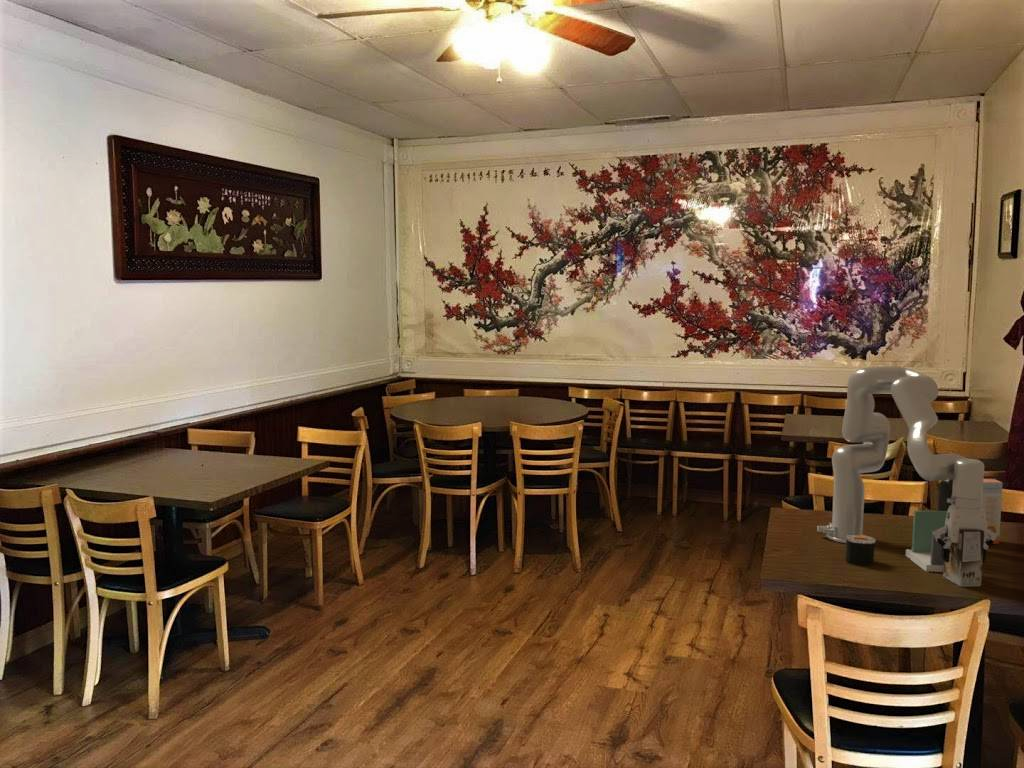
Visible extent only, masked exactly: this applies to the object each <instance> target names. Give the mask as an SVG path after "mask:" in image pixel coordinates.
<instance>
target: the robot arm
mask: <svg viewBox="0 0 1024 768" xmlns="http://www.w3.org/2000/svg"><path fill="white" fill-rule="evenodd" d="M846 388H847V391H846V392H847V396H846V403H845V409H844V414H843V421H842V424H841V425H842V428H841V434H842V435H841V436H842V437H843V439H844V440H845V441H847V442H849V443H860V444H847V445H845V444H844V445H842V446H840V447H838V448H836V449H835V450H834V451H833V453H832V455H831V464H832V465H831V466H832V471H833V498H832V499H833V500H832V501H833V503H832V519H831V521H832V522H829V523H828V524H827V525H817V526H816V531H817V532H822V533H824V534H826V537H827V538H828V539H829V540H831V541H834V542H837V543H843V544H846V536H847V535H850V536H851V535H852V536H853V535H859V536H861V535H863V536H864V535H865V536H867V535H866V534H864V533H863V529H864V527H863V526H864V512H865V511H864V509H865V492H866V491H865V483H864V481H863V479H862V477H861V474H865V473H874V472H875V473H876V472H878V471H880V469H882V468H883V466H884V464H885V462H886V458H887V452H888V447H889V441H890V436H891V425H890V421H889V419H888V418H887V417H886V415H884V414H882V413H881V412H874V411H875V405H876V404H875V398H874V396H873V394H874V395H875V394H878V395H879V394H891V397H892V398H893V400H894V402H895V405H896V407H897V408H898V410H899V413H900V414H901V415H902V418H903V420H904V422H905V424H906V425H907V428H908V433H907V439H906V440H907V441H906V449H907V453H908V457H909V459H910V461H911V464H912V465H913V468H914V469H915V471H916V472H917V474H918V475H919V477H921V478H922V479H923V480H925V481H927V482H937V481H940V482H941V481H942V480H952V479H953V490H952V495H951V498H948V499H947V502H948V503H951V504H952V505H950V506H949V508H948V512H947V515H946V520H945V526H944V527H942V528H940V529H937V530H935V531H933V535H934V537H935V540H936V541H937V542H938V543H939V544H940V546H941V558H942V560H944V561H945V562H949V558H950V549H949V548H948V547H949V546H950V545H951V544H952V543H959V530H983V531H984V545H983V561H982V564H985V560H986V559H987V550H989V547H990V546H991V545H994V544H993V541H994V540H995V538H996V537H997V534H996V533H994V532H992V531H990V530H988V529H987V521H986V513H985V509H984V508H982V495H983V480H984V479H985V477H984V476H985V464H984V462H982V461H981V460H979V459H975V458H969V457H965V456H963V455H961V454H959V453H958V454H957V453H949V452H948V453H937V454H933V453H932V450H931V449H930V447H929V445H928V441H927V434H928V431H929V430H930V429H932V428H933V427H935V425H937V423H938V421H939V418H938V416H937V414H936V412H935V409H934V408H933V406H932V404H931V403H932V402H934V401H935V400H936V399H937V398H938V395H939V386H938V384H937V383H936V381H935V380H934V378H932V377H930V376H929V375H926V374H923V373H921V372H917V371H915V370H913V369H909V368H906V367H902V366H898V365H897V366H895V365H893V366H891V365H890V366H870V367H862V368H860V369H856V370H854V372H852V373H851V375H850V376H849V377H848V381H847V387H846ZM943 533H944V537H945V538H944V539H943V540H942V539H941V538H940V535H941V534H943ZM987 534H989V537H988V538H987Z"/></svg>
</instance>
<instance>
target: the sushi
mask: <svg viewBox="0 0 1024 768" xmlns="http://www.w3.org/2000/svg"><path fill="white" fill-rule="evenodd" d="M865 535H866V534H864V536H863V535H861V536H859V535H853V536H852V535H851V536H850V535H847V536H846V543H845V546H846V547H845V549H846V550H845V562H846V563H847V564H850V565H854V566H862V567H870V566H873V565H874V557H875V544H876V538H874V537H872V536H869V535H868V536H867V535H866V536H865Z"/></svg>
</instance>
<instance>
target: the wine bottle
mask: <svg viewBox="0 0 1024 768" xmlns="http://www.w3.org/2000/svg"><path fill="white" fill-rule="evenodd" d="M952 490H953V479H952V480H940V482H939V484H938V493H937V508H936V511H948V508H949V506H950V505H952V504H951V503H948V502H947V499H948V498H951V495H952Z"/></svg>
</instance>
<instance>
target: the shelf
mask: <svg viewBox="0 0 1024 768" xmlns="http://www.w3.org/2000/svg"><path fill="white" fill-rule="evenodd" d="M947 512H948V511H937V510H919V509H918V510H915V509H914V510H913V523H912V540H911V549H909V548H907V549H905V557H907V558H908V559H909V558H910V559H909V560H911V561H912V562H913V563H914V564H915V565H917V566H919V567H920V568H921V569H922V570H923V571H925V572H927V573H928V572H930V571H931V572H933V571H934V573H935V572H936V573H943V567H944V560H942V558H941V546H940V544H939V543H938V542H937V541H936V540H935V537H934V535H933V531H935V530H937V529H940V528H942V527H944V526H945V520H946V515H947ZM940 538H941V539H942V540H943V539H944V538H945V537H944V533H943V534H941V535H940ZM931 572H930V573H931Z"/></svg>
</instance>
